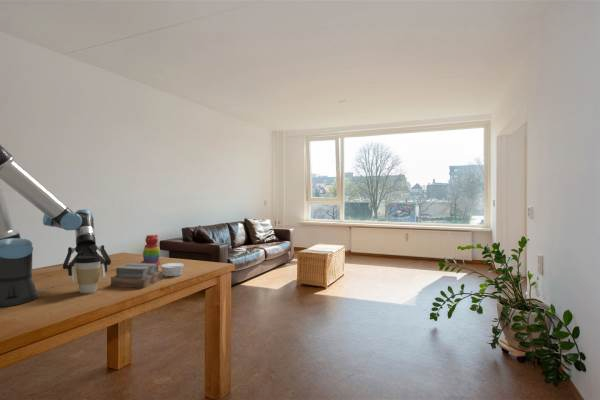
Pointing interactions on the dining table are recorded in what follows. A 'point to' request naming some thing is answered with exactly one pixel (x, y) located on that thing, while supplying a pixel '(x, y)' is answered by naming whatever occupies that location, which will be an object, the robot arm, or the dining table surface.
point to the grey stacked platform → (136, 275)
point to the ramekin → (172, 269)
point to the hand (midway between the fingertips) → (89, 279)
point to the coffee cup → (88, 272)
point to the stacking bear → (151, 250)
